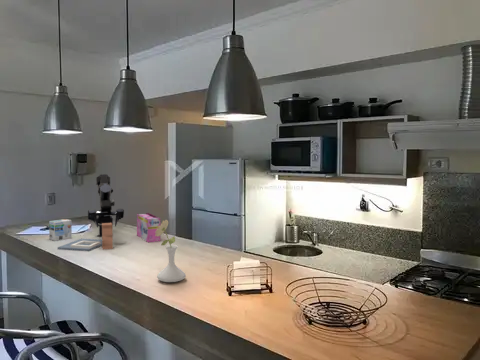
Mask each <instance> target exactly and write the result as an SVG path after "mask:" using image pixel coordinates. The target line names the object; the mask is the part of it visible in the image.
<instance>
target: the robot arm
mask: <svg viewBox="0 0 480 360" xmlns="http://www.w3.org/2000/svg"><path fill="white" fill-rule="evenodd" d="M95 178H96V179H95V185H96V186H97V194H98V196H99V205H100V206H99V208H100V210H98V211H97V210H96V209H89V210H88V211H87V220H89V221H92V222H93V223H94V224H95V226H96V227H97V228H98V231H99V232H98V233H99V234H98V235H96V236H97V237H102V223H112V226H113V225H114V226H115V227H117V225H118V222H119V221H120V220H122V219H123V218H124V215H125V210H124V208H116V210H115V211H112V207H114V206H115V205H116V204H115V199H111V194H113V192H114V189H113V188H112V187H111V177H110V176H109V175H108V174H106V173H105V174H102V173H101V174H99V175H98V176H97V177H95ZM113 216H115V221H114V218H113ZM113 222H115V223H113Z"/></svg>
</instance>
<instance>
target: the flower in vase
mask: <svg viewBox="0 0 480 360" xmlns="http://www.w3.org/2000/svg"><path fill="white" fill-rule="evenodd" d="M168 225H169V221H168V219H165V220H162V222H161V224H160V225H159V226H158V229H157V230H156V232H155V233H156V234H155V236H157V237H158V236H160V237H161V235H162V234H164V233H165V236H166V239H164V240H163V241H162V242H161V245H160V246H165V249H166V250H167V255H168V263H167V265H166V266H165V267H164V268H163V269H162V270H160V271H159V273H158V274H157V277H156V278H157V280H159V281H161V282H164V283H177V282H180V281H183V280H184V279H185V278H186V277H187V276H186V272H185V271H183V270H182V268H179V267H178V266H177V264H176V262H175V256H176V255H175V254H176V250H177V249H178V247H179V246H178V245H177V244H176V245H175V244H174V243H175V242H176V237H175V236H173V237H171V238H170V239H169V235H168V233H167V228H168ZM167 243H168V244H167Z"/></svg>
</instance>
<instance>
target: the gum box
mask: <svg viewBox="0 0 480 360" xmlns="http://www.w3.org/2000/svg"><path fill="white" fill-rule="evenodd" d="M161 223H162V222H161V217H159V216H156V215H154V214H152V213H150V212H146V213H136V236H138V237H139V238H140V237H141V238H140V239H142V240H143V239H144V240H143V241H145V242H146V241H147V243H155V241H156V242H161V235H160V236H158V237H157V236H155V234H156V233H155V232H156V230H157V229H158V226H159V225H160V226H161Z"/></svg>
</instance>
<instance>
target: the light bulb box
mask: <svg viewBox="0 0 480 360" xmlns="http://www.w3.org/2000/svg"><path fill="white" fill-rule="evenodd" d="M72 222H73V221H72V220H71V219H67V218H65V219H56V220H49V222H48V227H49V230H48V231H49V233H48V234H49V236H48V237H49V240H51V241H63V240H68V239H72V238H73V237H72V236H73V235H72V233H73V232H72V231H73V230H72V229H73V228H72V226H73V224H72Z"/></svg>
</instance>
